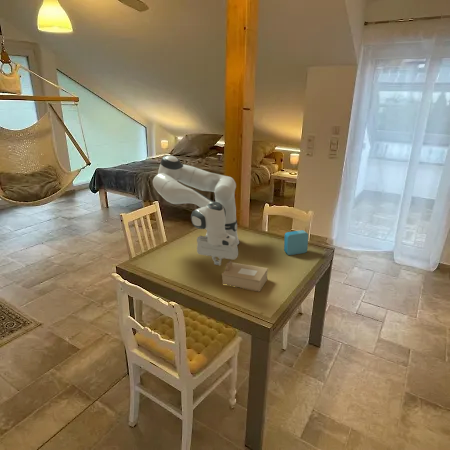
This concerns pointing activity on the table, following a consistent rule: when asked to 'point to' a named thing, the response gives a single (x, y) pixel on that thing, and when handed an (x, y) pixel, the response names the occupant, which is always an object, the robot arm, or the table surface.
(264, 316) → the table surface
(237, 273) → the lid
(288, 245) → the data package
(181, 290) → the table surface
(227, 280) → the box
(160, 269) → the table surface
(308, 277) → the table surface
